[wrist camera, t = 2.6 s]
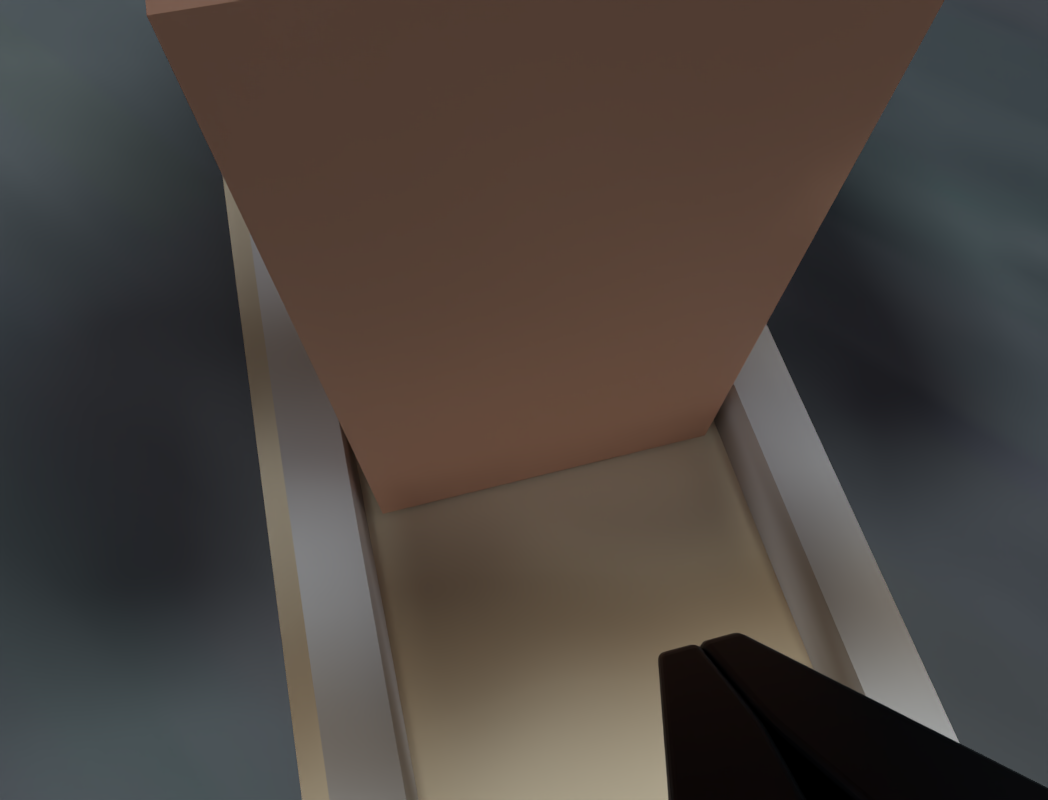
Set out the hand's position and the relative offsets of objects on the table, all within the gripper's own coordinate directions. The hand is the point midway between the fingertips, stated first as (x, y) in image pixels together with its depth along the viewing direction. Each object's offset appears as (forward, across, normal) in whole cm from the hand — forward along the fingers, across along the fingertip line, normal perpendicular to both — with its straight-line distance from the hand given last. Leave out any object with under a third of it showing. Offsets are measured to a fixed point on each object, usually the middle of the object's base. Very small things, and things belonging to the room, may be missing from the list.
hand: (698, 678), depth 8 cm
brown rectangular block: (+8, 0, -1) cm, 8 cm away
